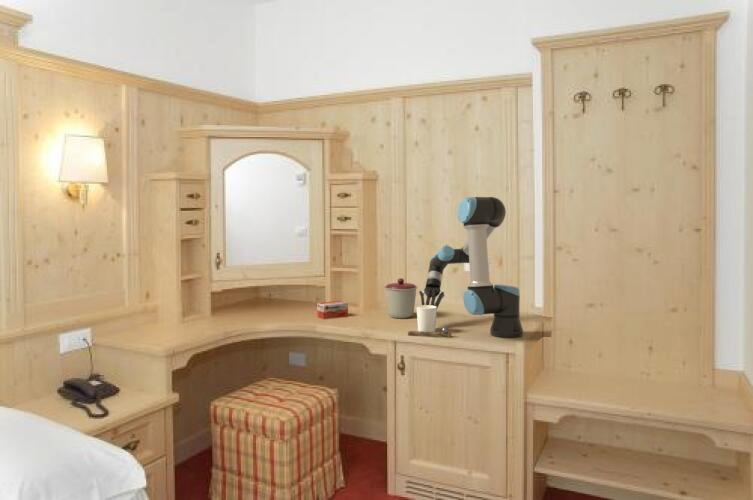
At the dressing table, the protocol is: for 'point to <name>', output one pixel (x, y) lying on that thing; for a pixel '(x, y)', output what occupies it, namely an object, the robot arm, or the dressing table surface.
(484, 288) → the robot arm
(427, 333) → the hole rail
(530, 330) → the dressing table surface
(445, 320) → the dressing table surface
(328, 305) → the medicine box
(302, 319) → the dressing table surface
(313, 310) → the dressing table surface
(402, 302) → the canister
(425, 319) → the white cup
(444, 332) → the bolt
